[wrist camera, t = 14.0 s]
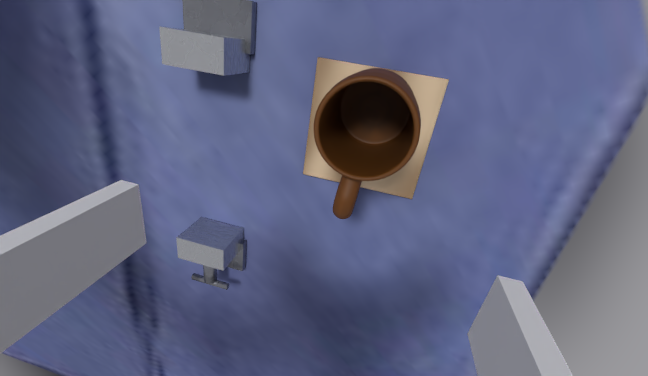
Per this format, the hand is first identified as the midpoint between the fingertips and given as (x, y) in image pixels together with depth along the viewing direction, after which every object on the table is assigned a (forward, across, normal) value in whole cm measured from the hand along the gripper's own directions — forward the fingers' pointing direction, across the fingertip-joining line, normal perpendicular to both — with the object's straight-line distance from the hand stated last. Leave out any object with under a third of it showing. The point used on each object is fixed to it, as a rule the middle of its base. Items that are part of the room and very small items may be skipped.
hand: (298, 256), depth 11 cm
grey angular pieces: (+22, -15, -6) cm, 27 cm away
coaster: (+22, +1, 0) cm, 22 cm away
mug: (+22, +1, 0) cm, 22 cm away
